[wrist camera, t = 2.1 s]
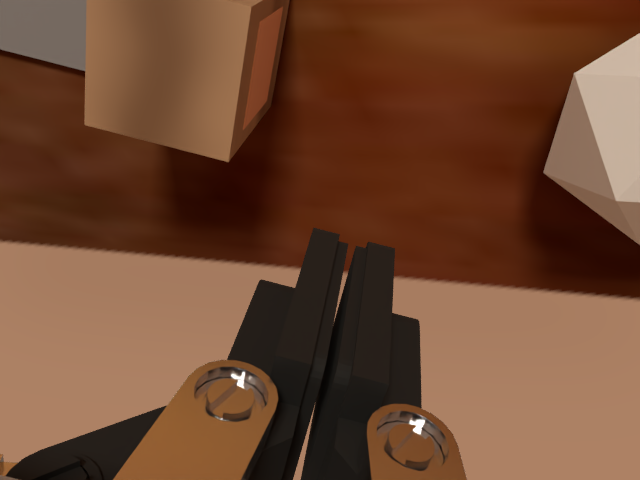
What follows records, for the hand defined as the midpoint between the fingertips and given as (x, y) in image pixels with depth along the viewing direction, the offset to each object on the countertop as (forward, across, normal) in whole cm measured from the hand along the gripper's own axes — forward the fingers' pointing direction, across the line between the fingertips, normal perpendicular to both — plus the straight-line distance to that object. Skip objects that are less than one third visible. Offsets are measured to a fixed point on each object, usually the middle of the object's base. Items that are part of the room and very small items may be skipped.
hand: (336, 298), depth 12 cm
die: (+20, -12, -2) cm, 23 cm away
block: (+20, +8, 0) cm, 21 cm away
